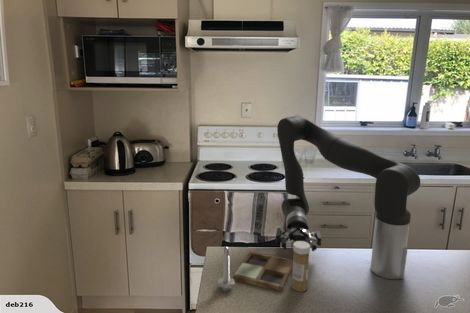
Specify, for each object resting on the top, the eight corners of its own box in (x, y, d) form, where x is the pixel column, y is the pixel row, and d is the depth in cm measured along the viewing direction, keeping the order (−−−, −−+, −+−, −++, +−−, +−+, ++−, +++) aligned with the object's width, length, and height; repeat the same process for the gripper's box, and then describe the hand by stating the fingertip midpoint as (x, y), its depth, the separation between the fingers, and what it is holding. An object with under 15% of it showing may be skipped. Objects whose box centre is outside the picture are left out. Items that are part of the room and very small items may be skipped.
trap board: (294, 264, 108) (294, 259, 108) (282, 291, 95) (282, 286, 94) (250, 255, 114) (250, 250, 113) (232, 279, 100) (232, 274, 100)
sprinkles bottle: (311, 288, 96) (313, 245, 93) (299, 294, 94) (301, 249, 91) (299, 280, 100) (301, 238, 97) (288, 285, 97) (289, 242, 94)
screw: (215, 285, 97) (230, 281, 99) (221, 295, 93) (237, 290, 95) (214, 244, 94) (230, 240, 96) (221, 252, 90) (237, 248, 92)
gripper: (276, 213, 119) (276, 234, 103) (318, 216, 117) (324, 237, 101) (276, 233, 121) (275, 257, 105) (317, 236, 119) (322, 260, 103)
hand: (299, 247), depth 103 cm, fingers open, 8 cm apart
